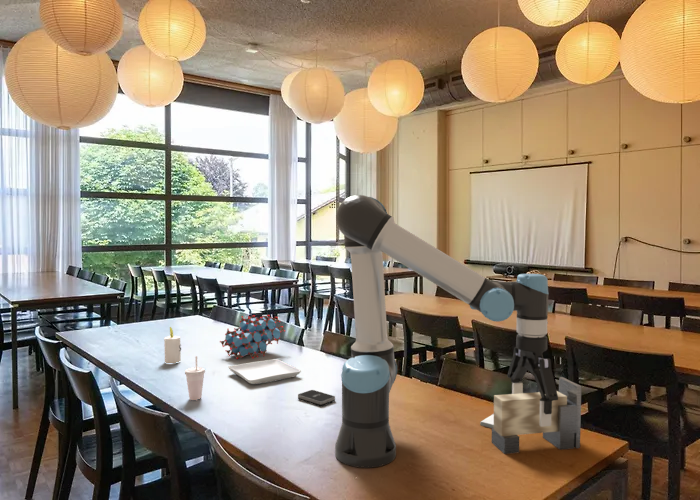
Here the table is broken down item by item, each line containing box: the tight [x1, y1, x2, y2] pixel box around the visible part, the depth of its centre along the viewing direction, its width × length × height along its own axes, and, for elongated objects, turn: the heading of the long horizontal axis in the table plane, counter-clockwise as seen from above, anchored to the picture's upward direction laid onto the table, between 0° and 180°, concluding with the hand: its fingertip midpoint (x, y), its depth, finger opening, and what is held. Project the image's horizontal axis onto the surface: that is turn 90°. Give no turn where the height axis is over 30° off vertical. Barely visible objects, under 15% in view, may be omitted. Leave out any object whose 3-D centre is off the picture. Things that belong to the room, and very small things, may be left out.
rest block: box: [491, 427, 520, 455], centre depth 132 cm, size 4×7×4 cm, turn 11°
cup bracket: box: [542, 377, 582, 451], centre depth 135 cm, size 6×8×16 cm
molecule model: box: [219, 314, 286, 360], centre depth 227 cm, size 16×14×25 cm
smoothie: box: [184, 355, 206, 401], centre depth 170 cm, size 6×6×14 cm
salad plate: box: [228, 358, 302, 385], centre depth 196 cm, size 21×21×3 cm
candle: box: [163, 326, 182, 363], centre depth 215 cm, size 6×6×15 cm
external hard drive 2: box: [479, 413, 494, 429], centre depth 149 cm, size 2×8×12 cm
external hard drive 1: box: [297, 389, 336, 407], centre depth 168 cm, size 7×11×2 cm, turn 49°
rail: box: [493, 390, 567, 436], centre depth 133 cm, size 18×4×9 cm, turn 101°
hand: (530, 415), depth 133 cm, fingers open, 13 cm apart
